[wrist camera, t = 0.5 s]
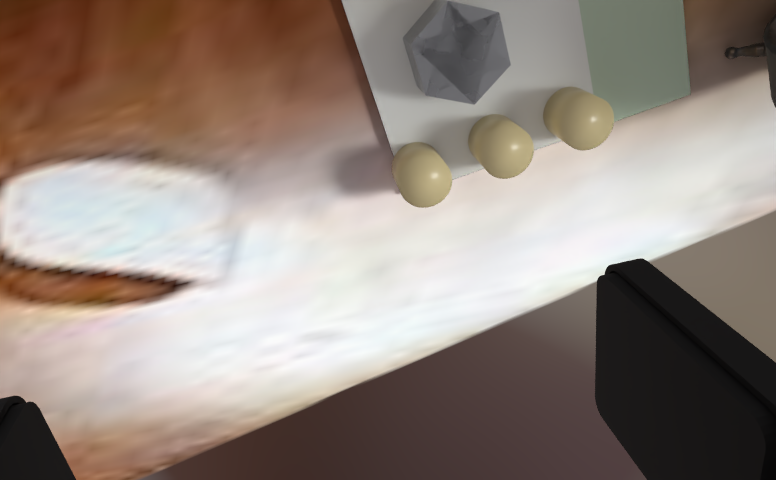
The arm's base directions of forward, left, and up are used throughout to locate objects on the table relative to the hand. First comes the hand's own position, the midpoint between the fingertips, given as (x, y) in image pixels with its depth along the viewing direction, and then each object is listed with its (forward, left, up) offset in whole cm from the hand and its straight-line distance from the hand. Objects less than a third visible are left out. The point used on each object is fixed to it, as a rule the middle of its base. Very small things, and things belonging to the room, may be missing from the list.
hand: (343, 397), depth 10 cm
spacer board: (-12, 0, -24) cm, 27 cm away
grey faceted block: (-8, 0, -23) cm, 25 cm away
